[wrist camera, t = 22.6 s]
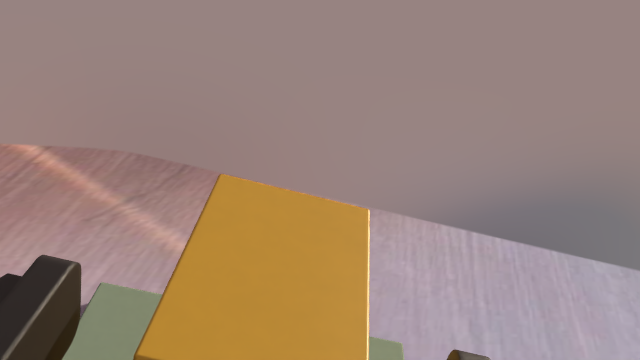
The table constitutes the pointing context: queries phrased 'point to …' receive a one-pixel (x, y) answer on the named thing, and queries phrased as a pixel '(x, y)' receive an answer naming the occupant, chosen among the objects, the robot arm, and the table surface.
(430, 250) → the table surface
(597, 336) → the table surface
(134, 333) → the mat
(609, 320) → the table surface
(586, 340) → the table surface
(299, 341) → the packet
